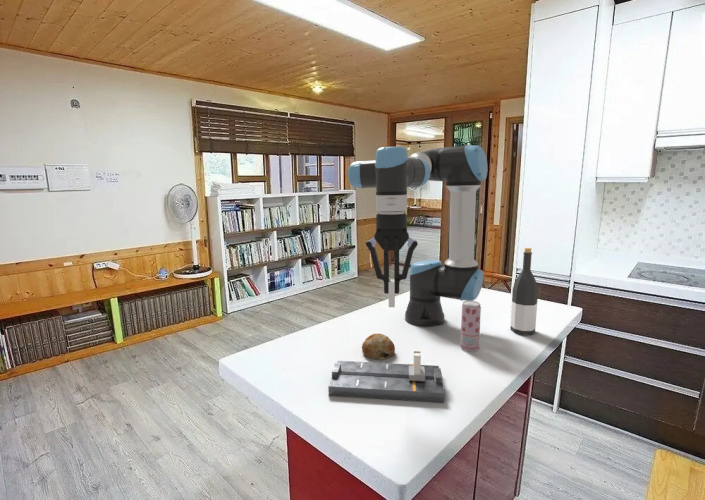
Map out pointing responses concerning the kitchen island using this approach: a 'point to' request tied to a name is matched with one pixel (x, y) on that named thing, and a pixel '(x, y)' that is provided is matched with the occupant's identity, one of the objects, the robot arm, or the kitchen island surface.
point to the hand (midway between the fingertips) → (391, 305)
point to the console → (385, 382)
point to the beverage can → (470, 326)
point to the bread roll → (378, 347)
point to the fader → (417, 368)
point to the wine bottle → (524, 299)
